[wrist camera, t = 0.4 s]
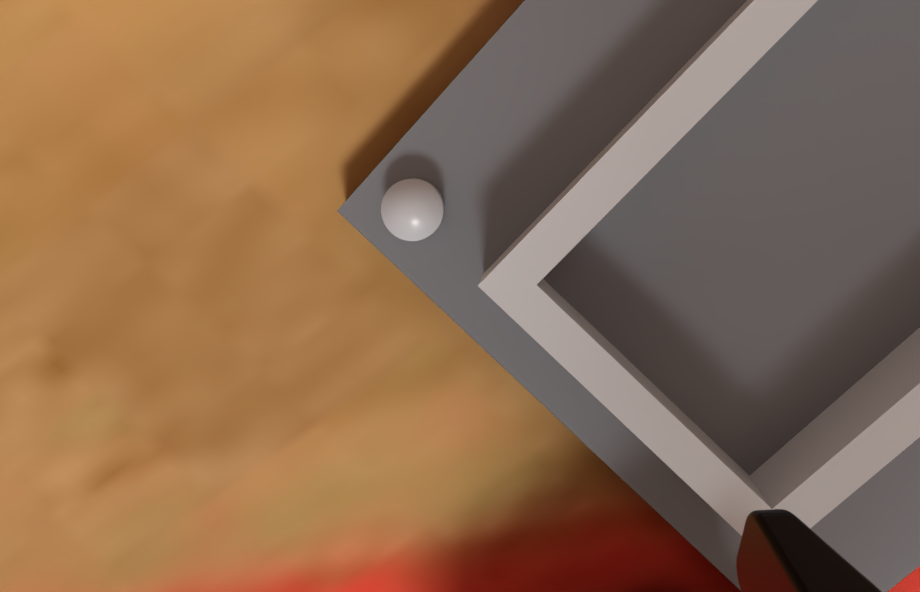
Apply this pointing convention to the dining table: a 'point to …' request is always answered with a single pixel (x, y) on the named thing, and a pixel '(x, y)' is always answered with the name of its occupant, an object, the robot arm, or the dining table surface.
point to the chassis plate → (691, 251)
